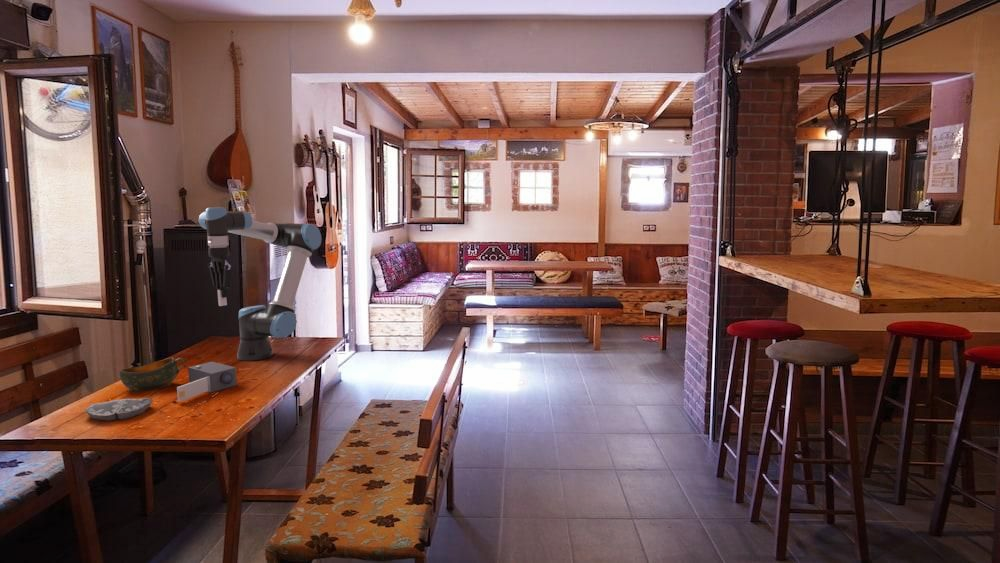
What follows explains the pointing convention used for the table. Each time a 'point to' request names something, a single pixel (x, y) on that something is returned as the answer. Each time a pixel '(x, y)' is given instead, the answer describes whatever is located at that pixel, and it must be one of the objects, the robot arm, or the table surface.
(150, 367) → the cup
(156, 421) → the table surface
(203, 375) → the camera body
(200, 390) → the door
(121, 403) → the brain slice
